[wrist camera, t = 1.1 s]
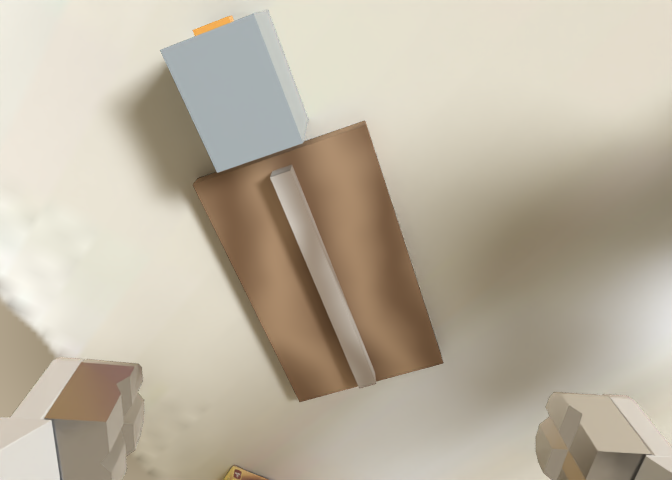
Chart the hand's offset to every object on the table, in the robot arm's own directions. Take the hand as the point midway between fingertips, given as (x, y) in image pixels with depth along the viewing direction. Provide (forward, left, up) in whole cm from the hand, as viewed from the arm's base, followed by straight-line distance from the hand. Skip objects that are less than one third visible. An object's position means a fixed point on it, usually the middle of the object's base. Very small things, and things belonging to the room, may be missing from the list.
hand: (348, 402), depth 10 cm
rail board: (+6, +13, -31) cm, 35 cm away
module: (+6, -4, -32) cm, 32 cm away
